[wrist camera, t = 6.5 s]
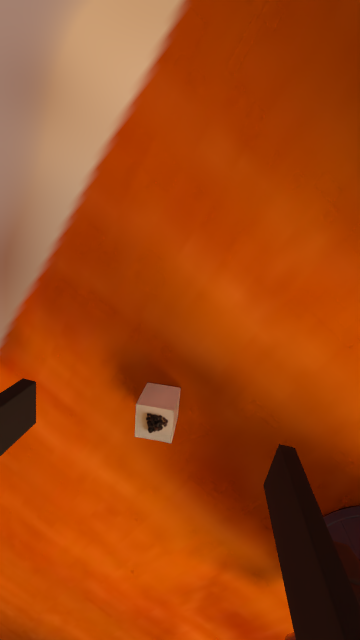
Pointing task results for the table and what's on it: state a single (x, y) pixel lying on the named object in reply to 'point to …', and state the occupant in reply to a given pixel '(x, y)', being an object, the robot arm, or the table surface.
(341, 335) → the table surface
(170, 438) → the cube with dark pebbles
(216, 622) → the table surface
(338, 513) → the mug
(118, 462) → the table surface
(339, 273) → the table surface
